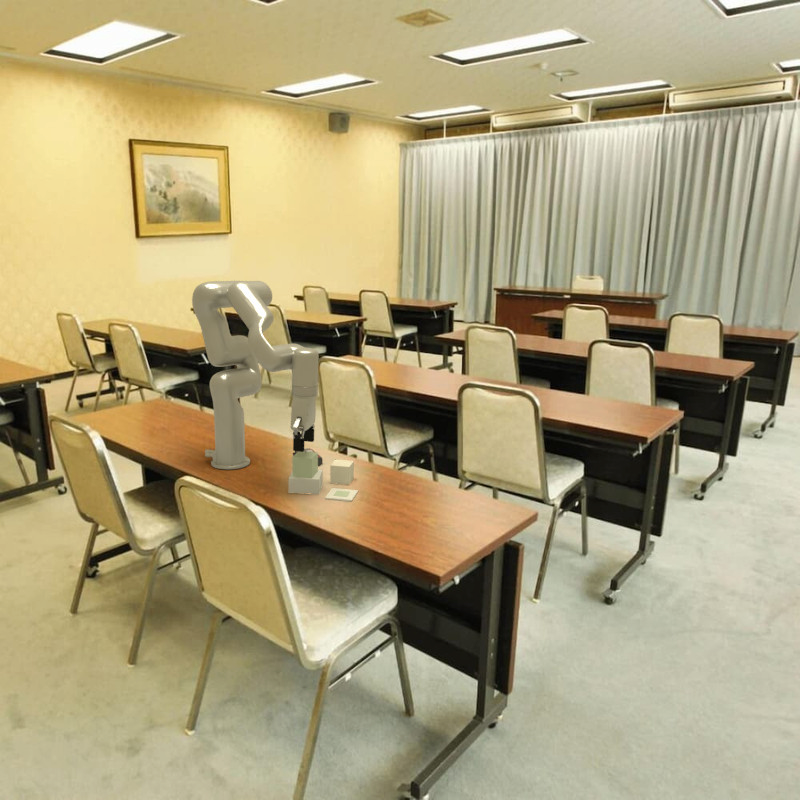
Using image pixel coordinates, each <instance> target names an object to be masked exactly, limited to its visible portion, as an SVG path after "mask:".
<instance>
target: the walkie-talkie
mask: <svg viewBox="0 0 800 800" xmlns="http://www.w3.org/2000/svg"><path fill="white" fill-rule="evenodd" d="M297 452H298V451H294V452H293V453H292V457H293V456H294V455H295V454H296V453H297ZM303 452H316V450H313V449H312V448H310V447H307V448H304V451H303ZM321 464H322V465H323V457H322V456H321V455H320V454H318V466H322V465H321Z"/></svg>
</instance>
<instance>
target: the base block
mask: <svg viewBox="0 0 800 800" xmlns="http://www.w3.org/2000/svg"><path fill="white" fill-rule="evenodd" d="M323 470H324V469H322V468H321V469H320V468H318V472H317V473H316V474H315V475H314V476H313V478H306V477H294V476H293V469H292V470H291V473H290V474H289V476H288V494H289V493H311V494H310V495H320V493H321V490H322V487H323V484H322V483H323V473H324V472H323Z"/></svg>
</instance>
